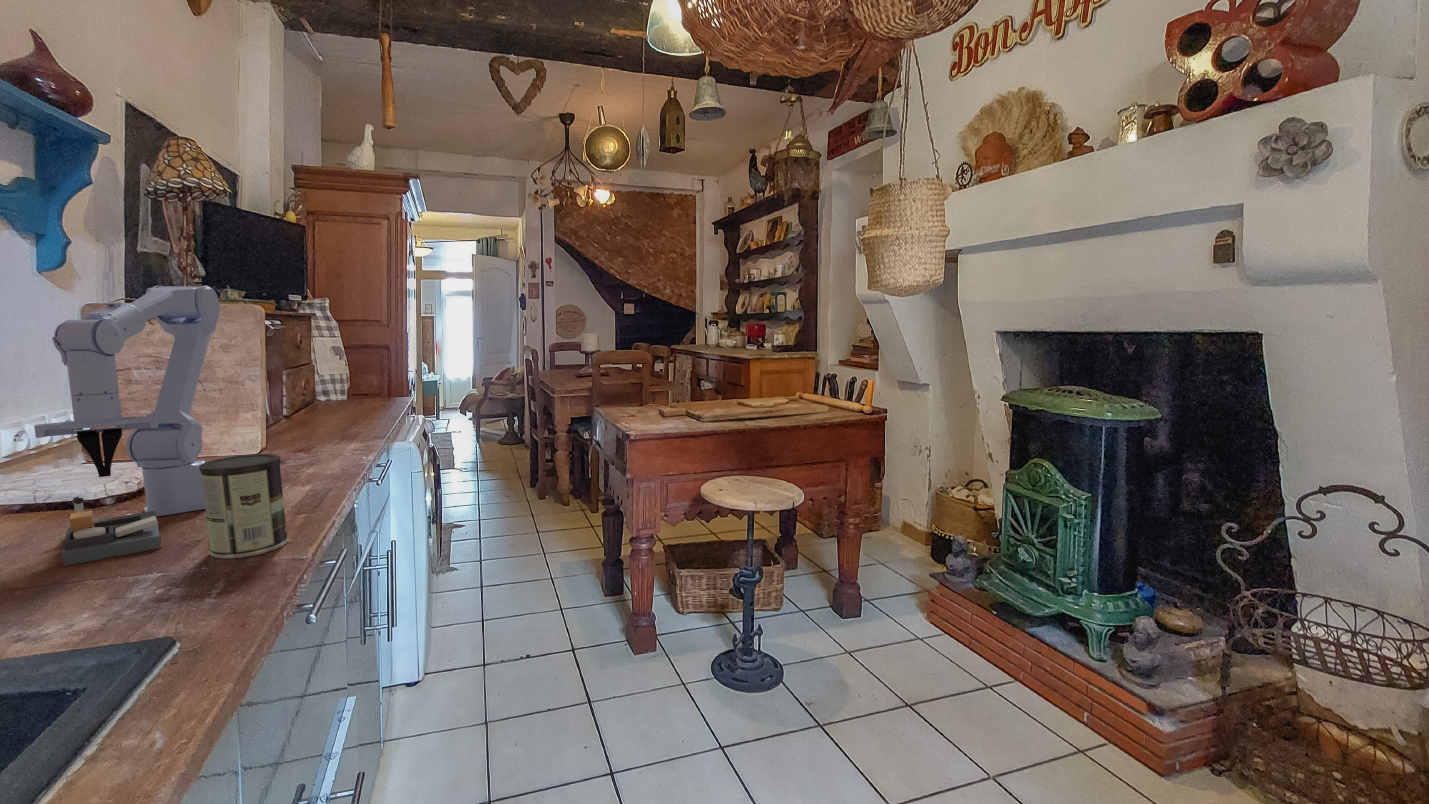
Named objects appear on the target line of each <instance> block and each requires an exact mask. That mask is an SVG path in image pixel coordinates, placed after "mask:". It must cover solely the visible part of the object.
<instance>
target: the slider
mask: <svg viewBox="0 0 1429 804" xmlns="http://www.w3.org/2000/svg"><path fill="white" fill-rule="evenodd" d="M93 513H94V512H93V510H86V511H84V512H79V513H75V512H73V513H70V516H69V519H68V520H69V524H70V527H71V532H75V531H79V530H83V529H87V528H94V527H95V526H94V520H95V519H94V514H93Z"/></svg>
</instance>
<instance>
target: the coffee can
mask: <svg viewBox="0 0 1429 804" xmlns="http://www.w3.org/2000/svg"><path fill="white" fill-rule="evenodd" d="M280 462H281V456H280V455H278V454H271V453H255V454H254V453H253V454H245V455H244V454H243V455H234V456H228V457H221V458H218V459H217V458H216V459H213V460H209V461H205V463H203V464H201V465H199V470H200V471H201V479H202V487H203V495H204V502H205V509H204V510H205V518H206V525H207V526H206V527H207V535H208V542H209V551H210V552H209V555H210V556H211V557H212V558H217V559H224V560H225V559H229V560H230V559H241V558H242V559H243V558H247V557H253V556H254V557H255V556H257V555H258V556H259V555H262V554H266V553H269V552H272V551H276V550H277V549H279V548H280V549H281V548H282V547H284V546H285V545H286V544H287V543H288V542H289V538H288V531H287V525H286V524H287V522H286V512H285V504H284V493H283V491H284V490H283V483H282V474H281V464H280Z"/></svg>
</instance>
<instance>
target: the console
mask: <svg viewBox="0 0 1429 804" xmlns="http://www.w3.org/2000/svg"><path fill="white" fill-rule="evenodd" d="M152 516H155V517H156V511H151V512H145V511H144V512H139V513H132V514H127V515H121V516H112V517H107V518H101V519H94V526H95V527H104V528H105V530H106V534H103V535H97V536H91V537H85V538H79V539H74V536H73V533H74V532H71V527H70V523H69V524H68V528H67V531H66V533H65V536H64V540H63V545H62V546H63V547H62V550H61V556H62V557H61V558H62V564H63V566H64V567H65V566H71V565H76V564H81V563H82V564H83V563H87V562H92V561H97V560H98V561H99V560H104V558H105V559H108V558H107V557H110V558H114V557H113V556H116V557H120V555H121V556H125V555H132V554H137V553H141V552H148V551H153V550H159V549H162V547H161V537H160V536H161V535H160V531H159V524H158V522H157V525H154V526H151V527H148V528H145V529H142V530H138V531H135V532H132V533H129V534H126V535H123V536H120V537H117V536H116V534H115V528H118V527H121V526H124V525H127V524H130V523H133V522H136V521H139V520H143V519H146V518H149V517H152ZM156 519H157V520H158V516H157V517H156ZM75 532H76V531H75Z"/></svg>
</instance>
